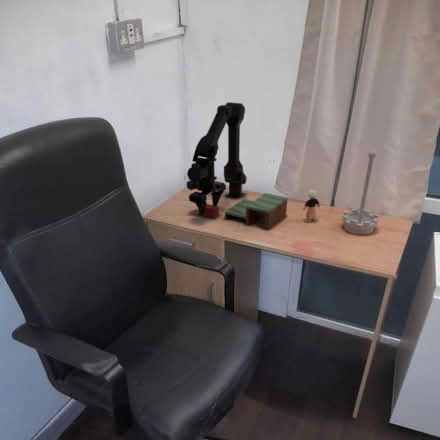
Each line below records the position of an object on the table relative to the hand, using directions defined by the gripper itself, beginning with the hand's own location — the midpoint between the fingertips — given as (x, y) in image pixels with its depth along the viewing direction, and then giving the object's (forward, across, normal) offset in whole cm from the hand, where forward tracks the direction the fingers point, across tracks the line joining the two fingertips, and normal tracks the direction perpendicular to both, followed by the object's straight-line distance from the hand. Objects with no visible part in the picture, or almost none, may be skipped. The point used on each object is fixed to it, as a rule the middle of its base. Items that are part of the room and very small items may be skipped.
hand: (208, 211), depth 174 cm
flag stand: (+2, -20, +57) cm, 60 cm away
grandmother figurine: (+2, -17, +38) cm, 42 cm away
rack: (+2, -8, +18) cm, 20 cm away
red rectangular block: (+2, 0, 0) cm, 2 cm away
